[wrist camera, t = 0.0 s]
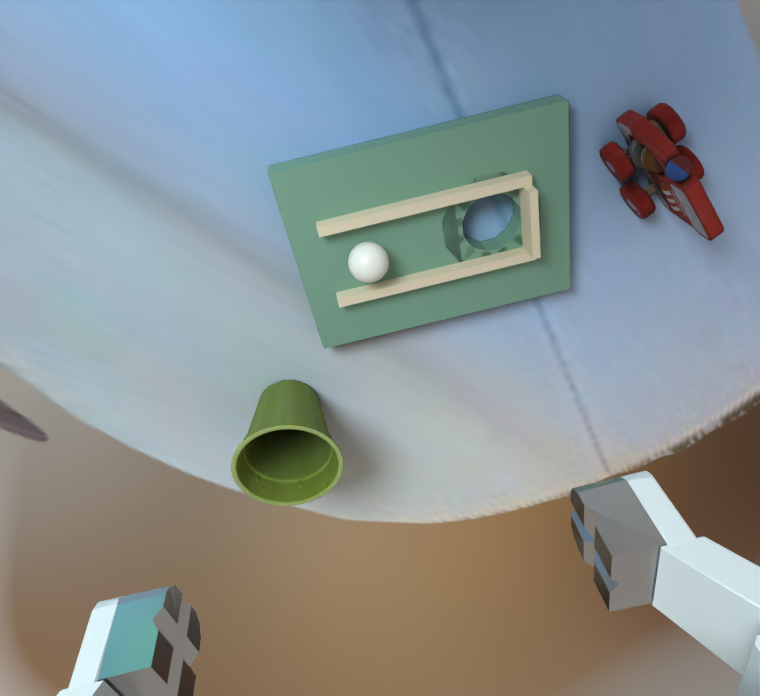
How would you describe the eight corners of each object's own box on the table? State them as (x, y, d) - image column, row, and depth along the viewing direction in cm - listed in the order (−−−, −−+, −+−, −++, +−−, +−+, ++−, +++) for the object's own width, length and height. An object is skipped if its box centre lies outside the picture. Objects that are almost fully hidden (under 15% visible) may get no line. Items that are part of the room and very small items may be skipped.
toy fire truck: (646, 82, 54) (713, 105, 46) (692, 179, 60) (758, 215, 52) (583, 132, 56) (635, 163, 48) (634, 221, 62) (688, 262, 54)
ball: (342, 240, 56) (345, 257, 53) (381, 230, 56) (387, 247, 53) (351, 275, 59) (355, 294, 55) (389, 266, 59) (395, 284, 55)
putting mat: (323, 336, 65) (325, 364, 61) (268, 165, 54) (266, 184, 49) (561, 278, 65) (581, 302, 61) (557, 94, 54) (582, 106, 49)
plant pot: (333, 357, 67) (340, 421, 58) (339, 432, 74) (346, 499, 65) (231, 366, 66) (221, 433, 57) (246, 441, 73) (240, 511, 64)
